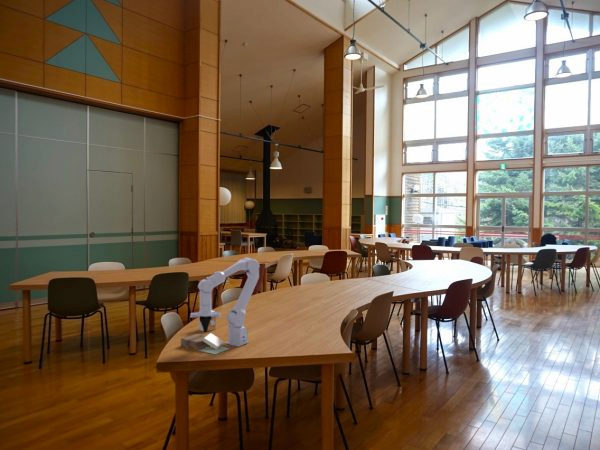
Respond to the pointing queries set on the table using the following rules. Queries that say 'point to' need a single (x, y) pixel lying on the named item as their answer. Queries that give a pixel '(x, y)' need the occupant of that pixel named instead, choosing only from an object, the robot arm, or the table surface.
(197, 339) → the deck
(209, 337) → the white rectangular block
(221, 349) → the mat
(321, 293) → the table surface
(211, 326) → the small box
